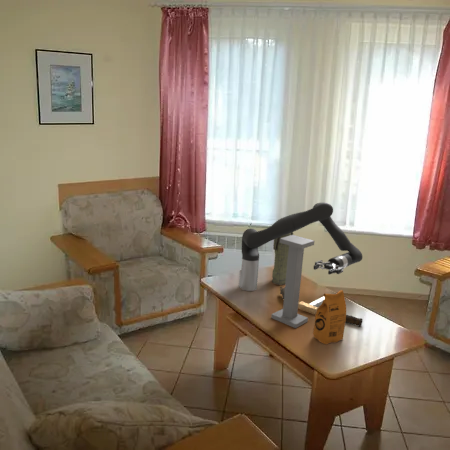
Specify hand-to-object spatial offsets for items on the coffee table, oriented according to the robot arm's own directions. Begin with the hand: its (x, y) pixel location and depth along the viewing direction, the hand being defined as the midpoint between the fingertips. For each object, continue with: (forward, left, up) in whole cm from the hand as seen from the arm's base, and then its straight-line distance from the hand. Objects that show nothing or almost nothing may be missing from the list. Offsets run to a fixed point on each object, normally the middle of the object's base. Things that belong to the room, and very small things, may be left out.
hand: (321, 270), depth 235 cm
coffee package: (+22, -28, -19) cm, 41 cm away
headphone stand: (0, -26, -19) cm, 32 cm away
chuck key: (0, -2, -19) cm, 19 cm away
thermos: (-32, +10, -19) cm, 38 cm away
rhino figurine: (-15, -7, -19) cm, 26 cm away
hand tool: (+18, -7, -20) cm, 27 cm away
